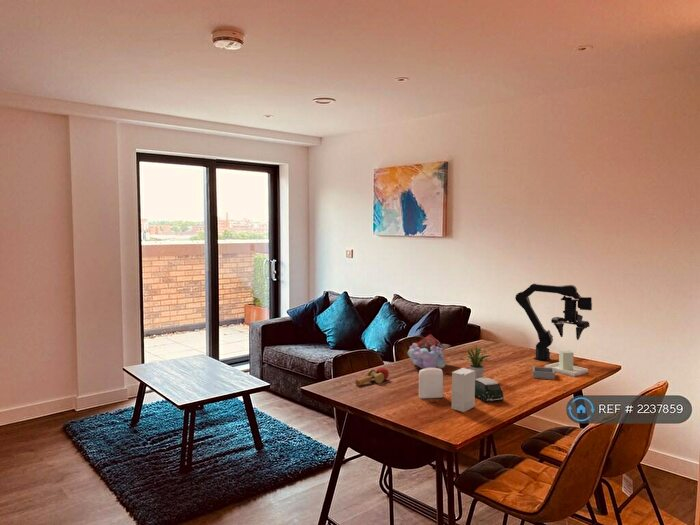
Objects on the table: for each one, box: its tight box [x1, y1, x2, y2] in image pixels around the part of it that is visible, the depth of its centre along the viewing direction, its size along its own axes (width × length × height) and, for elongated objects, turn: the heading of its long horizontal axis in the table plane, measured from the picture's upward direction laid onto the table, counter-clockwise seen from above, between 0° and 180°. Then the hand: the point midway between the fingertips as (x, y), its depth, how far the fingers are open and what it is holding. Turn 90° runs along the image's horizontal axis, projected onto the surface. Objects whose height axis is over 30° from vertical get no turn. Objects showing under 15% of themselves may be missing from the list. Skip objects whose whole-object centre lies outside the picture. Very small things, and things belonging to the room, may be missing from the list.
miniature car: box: [475, 377, 505, 404], centre depth 211 cm, size 9×18×8 cm, turn 18°
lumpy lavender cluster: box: [407, 333, 452, 370], centre depth 259 cm, size 20×22×18 cm
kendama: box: [355, 366, 390, 387], centre depth 232 cm, size 8×6×18 cm
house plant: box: [465, 344, 492, 379], centre depth 236 cm, size 14×14×16 cm
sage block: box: [558, 350, 575, 371], centre depth 251 cm, size 5×5×9 cm
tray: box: [543, 361, 589, 378], centre depth 252 cm, size 16×12×2 cm
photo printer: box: [418, 368, 444, 399], centre depth 210 cm, size 10×4×12 cm, turn 96°
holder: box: [532, 366, 556, 381], centre depth 243 cm, size 10×10×3 cm
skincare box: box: [450, 367, 476, 413], centre depth 197 cm, size 8×6×15 cm
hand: (569, 338), depth 268 cm, fingers open, 9 cm apart
